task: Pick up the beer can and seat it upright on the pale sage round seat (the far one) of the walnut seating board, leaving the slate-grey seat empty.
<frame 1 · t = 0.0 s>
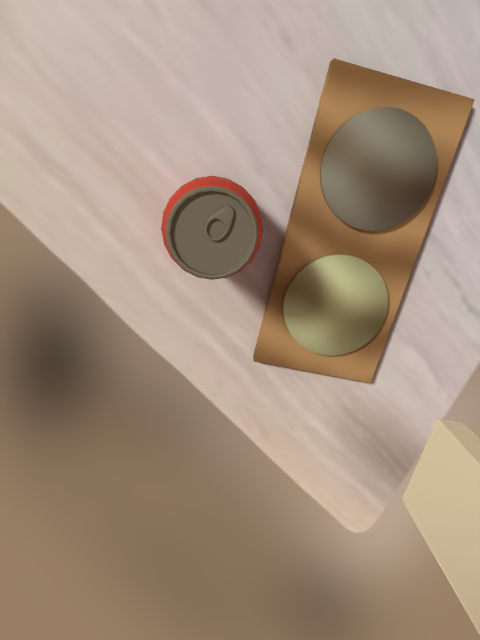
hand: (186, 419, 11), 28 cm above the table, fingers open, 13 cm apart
beer can: (212, 215, 36), on the table
seat board: (350, 240, 38), on the table
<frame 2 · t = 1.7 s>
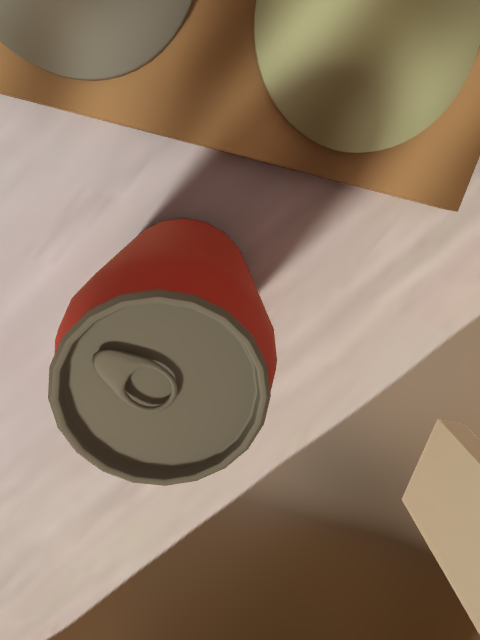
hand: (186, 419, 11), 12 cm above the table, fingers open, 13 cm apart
beer can: (185, 280, 22), on the table
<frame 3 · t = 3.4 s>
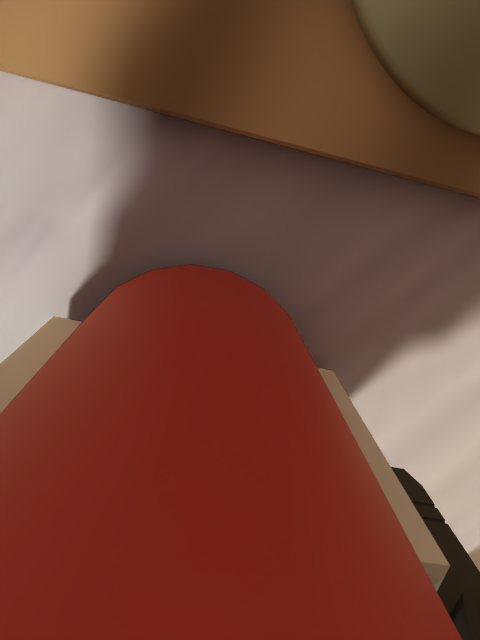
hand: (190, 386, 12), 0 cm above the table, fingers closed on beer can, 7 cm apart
beer can: (193, 365, 13), on the table, touching gripper
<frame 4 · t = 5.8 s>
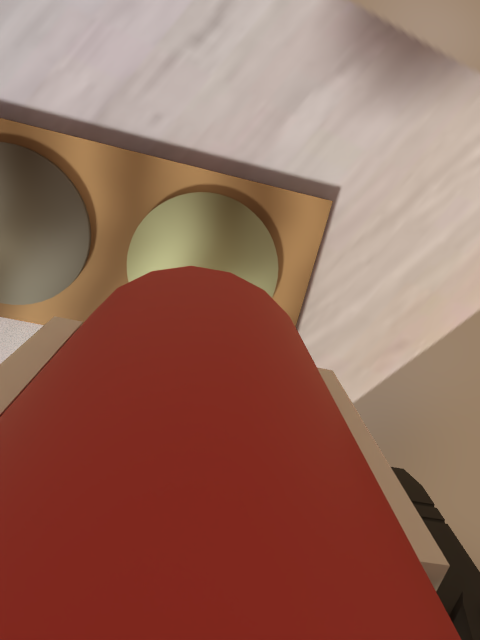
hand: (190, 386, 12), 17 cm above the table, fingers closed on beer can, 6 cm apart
beer can: (193, 366, 13), point 16 cm above the table, touching gripper
seat board: (113, 246, 27), on the table
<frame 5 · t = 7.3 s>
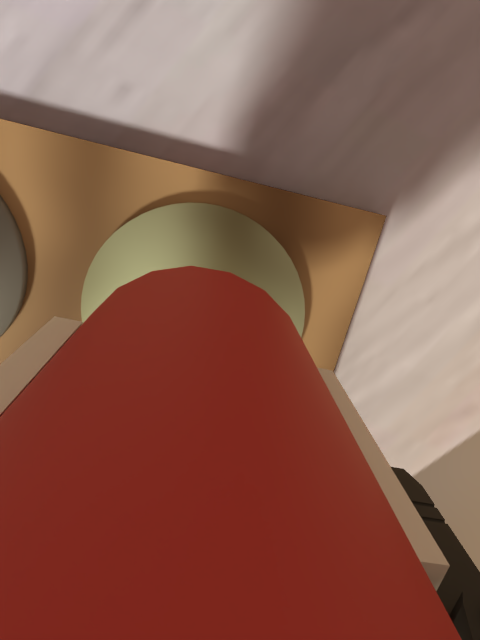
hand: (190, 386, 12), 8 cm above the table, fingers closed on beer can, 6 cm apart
beer can: (193, 366, 13), point 7 cm above the table, touching gripper
seat board: (64, 280, 19), on the table
when the fingers open (3 cm above the table, at t = 8.6 s): beer can drops 1 cm, resting on seat board.
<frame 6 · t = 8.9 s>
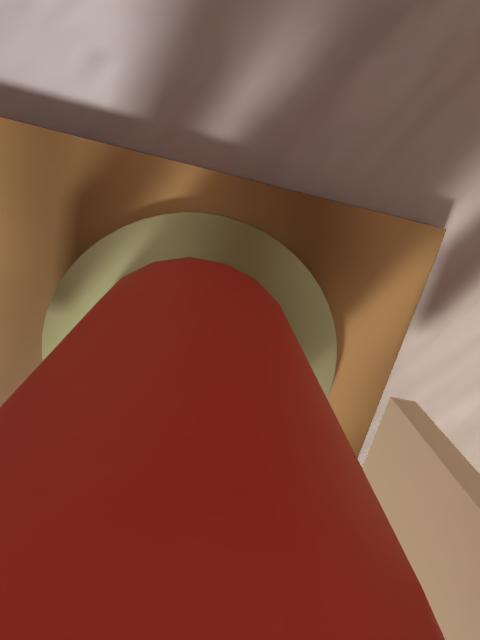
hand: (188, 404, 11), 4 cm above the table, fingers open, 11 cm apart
beer can: (191, 351, 14), point 1 cm above the table, touching seat board
seat board: (24, 311, 14), on the table
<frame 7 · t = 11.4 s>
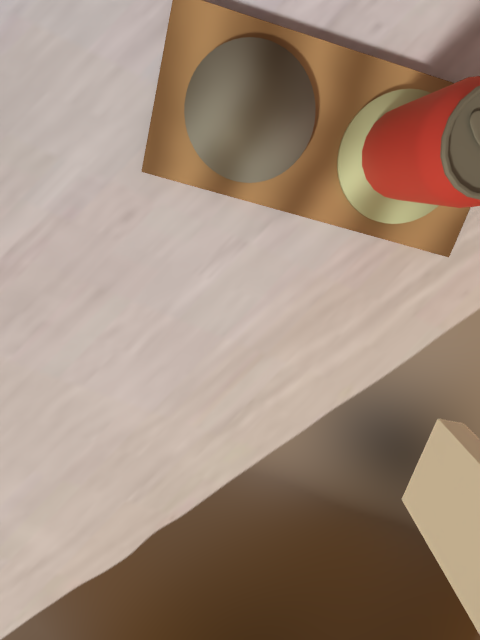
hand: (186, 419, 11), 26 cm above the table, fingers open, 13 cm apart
beer can: (401, 154, 32), point 1 cm above the table, touching seat board
seat board: (322, 139, 32), on the table
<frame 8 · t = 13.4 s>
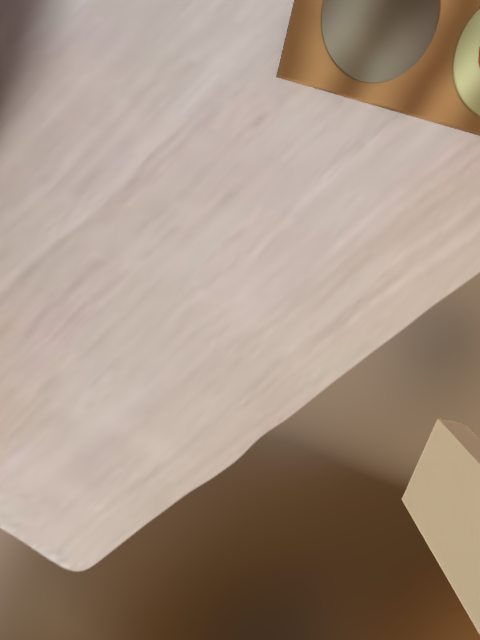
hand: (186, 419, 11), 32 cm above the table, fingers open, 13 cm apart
seat board: (437, 42, 36), on the table
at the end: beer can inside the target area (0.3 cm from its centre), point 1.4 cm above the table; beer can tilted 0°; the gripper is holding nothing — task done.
